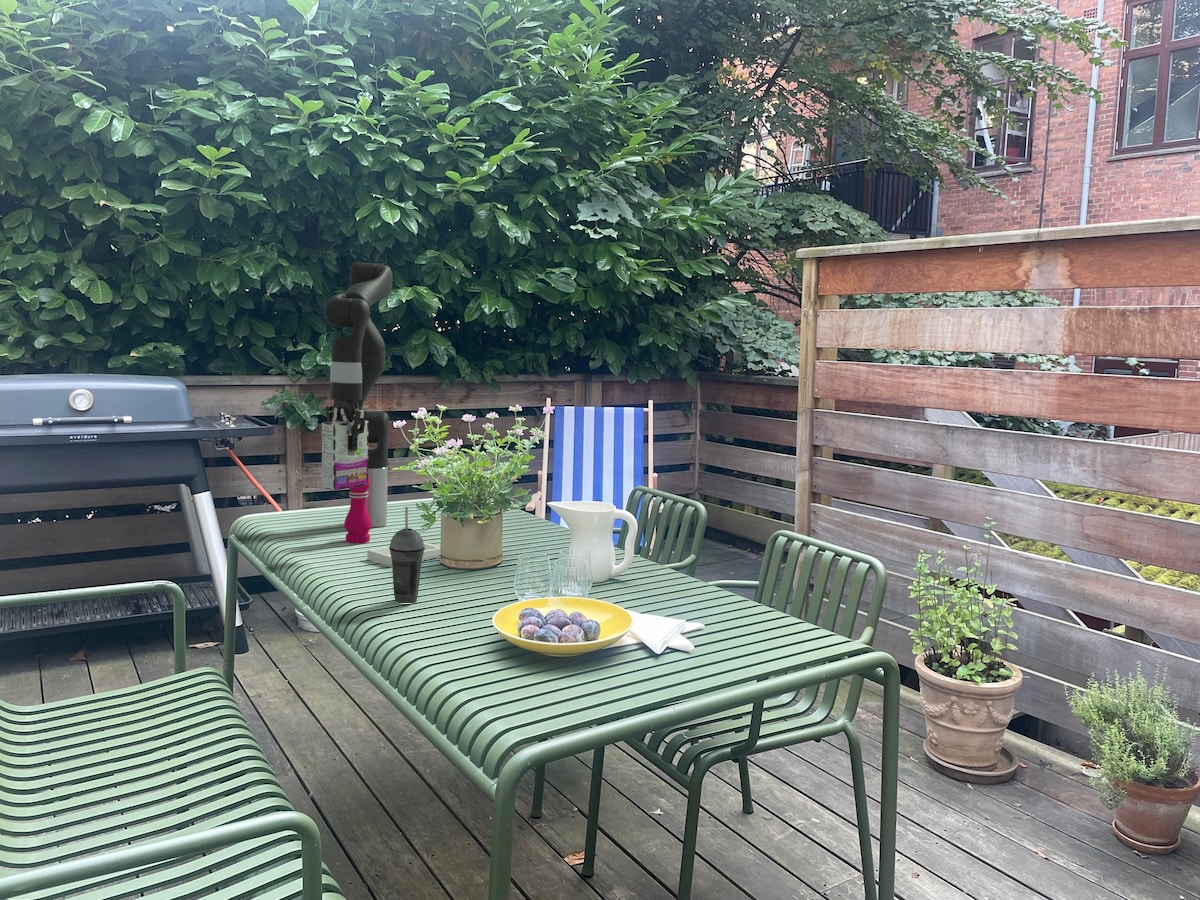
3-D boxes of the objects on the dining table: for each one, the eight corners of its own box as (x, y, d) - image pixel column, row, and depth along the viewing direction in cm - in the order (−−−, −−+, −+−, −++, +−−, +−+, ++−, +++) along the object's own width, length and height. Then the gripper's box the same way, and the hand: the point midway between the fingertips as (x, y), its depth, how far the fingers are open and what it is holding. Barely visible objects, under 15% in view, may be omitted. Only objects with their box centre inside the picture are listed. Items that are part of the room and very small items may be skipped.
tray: (367, 559, 218) (367, 550, 218) (418, 549, 231) (418, 540, 230) (392, 567, 212) (392, 557, 212) (443, 557, 224) (444, 547, 224)
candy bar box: (354, 483, 225) (356, 419, 223) (368, 485, 223) (370, 420, 221) (319, 488, 216) (320, 421, 214) (334, 490, 213) (334, 423, 211)
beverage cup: (392, 608, 181) (395, 512, 178) (384, 598, 187) (386, 505, 185) (427, 604, 184) (430, 510, 182) (417, 595, 190) (420, 504, 188)
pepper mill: (367, 544, 234) (368, 470, 231) (340, 543, 234) (341, 468, 231) (374, 538, 241) (376, 466, 238) (348, 537, 241) (349, 464, 239)
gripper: (376, 382, 214) (375, 451, 216) (342, 378, 223) (341, 445, 225) (350, 382, 209) (349, 453, 211) (316, 378, 218) (315, 447, 220)
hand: (345, 449), depth 218 cm, fingers closed on candy bar box, 5 cm apart
